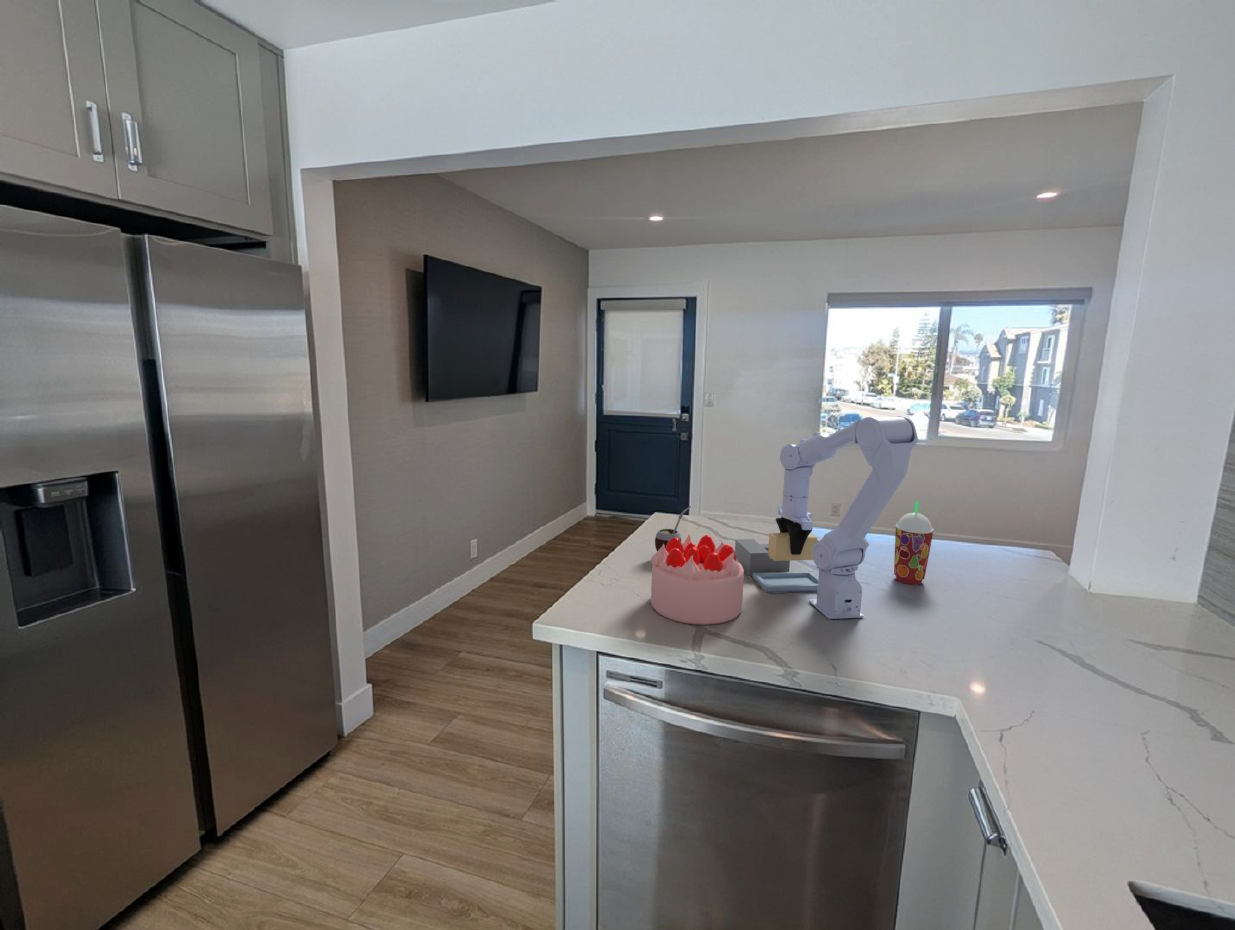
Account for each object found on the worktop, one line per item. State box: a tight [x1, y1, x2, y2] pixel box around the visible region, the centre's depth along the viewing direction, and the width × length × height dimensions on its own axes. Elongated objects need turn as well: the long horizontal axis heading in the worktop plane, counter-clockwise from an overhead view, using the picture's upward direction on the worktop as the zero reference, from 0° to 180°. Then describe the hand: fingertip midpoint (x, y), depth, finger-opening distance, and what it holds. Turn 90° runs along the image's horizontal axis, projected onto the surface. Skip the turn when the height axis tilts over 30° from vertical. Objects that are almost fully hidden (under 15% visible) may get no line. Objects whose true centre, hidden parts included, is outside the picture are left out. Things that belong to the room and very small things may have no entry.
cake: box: [649, 534, 745, 626], centre depth 126 cm, size 20×20×14 cm
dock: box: [734, 538, 791, 577], centre depth 151 cm, size 11×10×6 cm
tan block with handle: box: [768, 532, 819, 562], centre depth 139 cm, size 4×11×6 cm, turn 98°
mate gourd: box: [654, 506, 692, 552], centre depth 155 cm, size 8×8×15 cm
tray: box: [752, 570, 819, 594], centre depth 140 cm, size 9×15×2 cm, turn 98°
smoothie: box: [893, 501, 935, 586], centre depth 142 cm, size 8×8×20 cm
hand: (791, 550), depth 139 cm, fingers closed on tan block with handle, 4 cm apart
